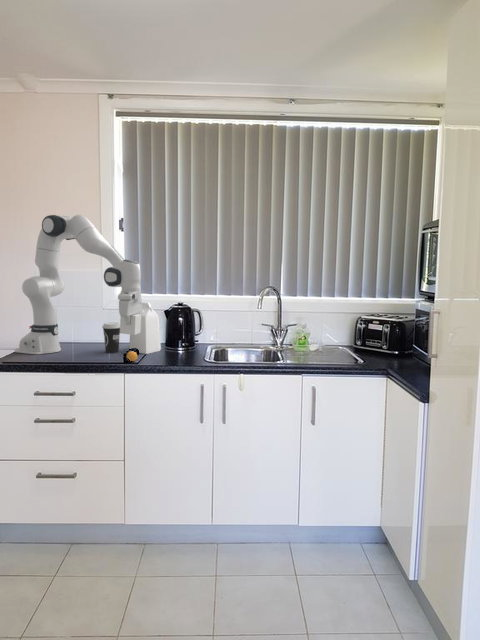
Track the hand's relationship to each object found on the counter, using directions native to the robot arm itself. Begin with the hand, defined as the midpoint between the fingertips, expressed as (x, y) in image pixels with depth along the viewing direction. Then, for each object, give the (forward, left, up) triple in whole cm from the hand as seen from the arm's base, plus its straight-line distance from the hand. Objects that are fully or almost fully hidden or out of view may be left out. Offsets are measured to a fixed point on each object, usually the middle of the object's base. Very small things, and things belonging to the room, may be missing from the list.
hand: (131, 323), depth 216 cm
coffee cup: (-19, +20, -18) cm, 33 cm away
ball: (0, 0, -16) cm, 16 cm away
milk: (-3, +26, -18) cm, 32 cm away
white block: (-1, 0, -4) cm, 4 cm away
